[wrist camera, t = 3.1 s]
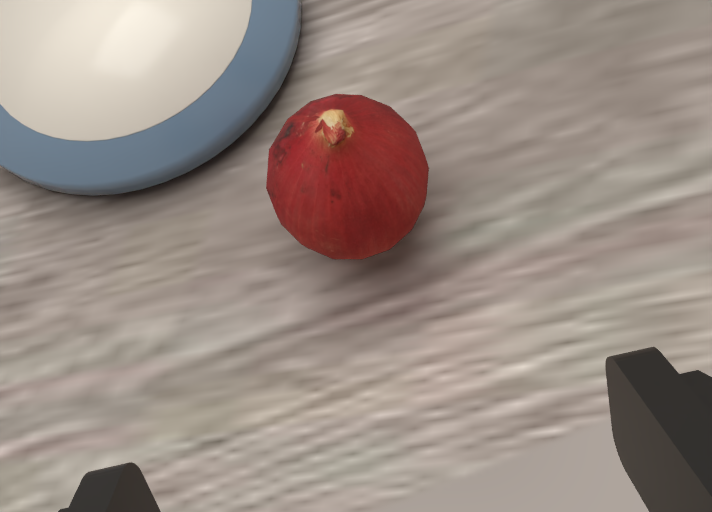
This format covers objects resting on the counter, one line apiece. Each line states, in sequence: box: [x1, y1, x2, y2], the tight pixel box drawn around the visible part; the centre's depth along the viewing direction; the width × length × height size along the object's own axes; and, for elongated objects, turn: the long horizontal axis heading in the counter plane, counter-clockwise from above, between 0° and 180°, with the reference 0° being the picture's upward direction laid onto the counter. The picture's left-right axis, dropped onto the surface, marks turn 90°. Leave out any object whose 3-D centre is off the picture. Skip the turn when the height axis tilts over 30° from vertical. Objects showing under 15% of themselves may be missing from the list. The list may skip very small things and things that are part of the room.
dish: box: [0, 0, 301, 196], centre depth 32 cm, size 17×17×2 cm
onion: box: [266, 94, 429, 259], centre depth 24 cm, size 6×6×8 cm
